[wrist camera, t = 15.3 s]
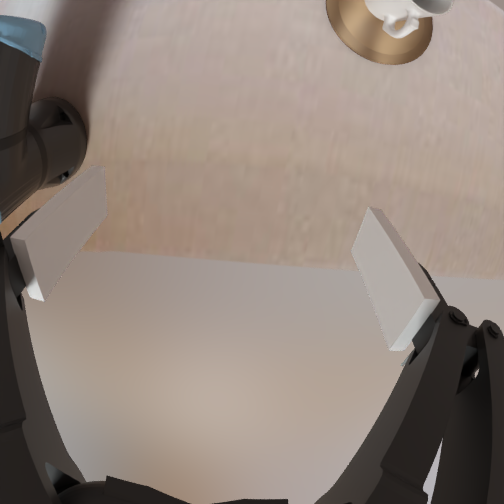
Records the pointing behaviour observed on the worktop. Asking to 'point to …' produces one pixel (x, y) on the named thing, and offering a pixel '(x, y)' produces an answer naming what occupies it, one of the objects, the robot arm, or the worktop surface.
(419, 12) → the mug
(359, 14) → the disc
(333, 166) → the worktop surface
